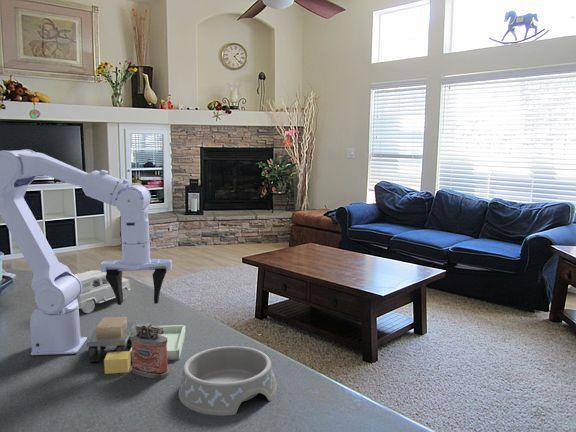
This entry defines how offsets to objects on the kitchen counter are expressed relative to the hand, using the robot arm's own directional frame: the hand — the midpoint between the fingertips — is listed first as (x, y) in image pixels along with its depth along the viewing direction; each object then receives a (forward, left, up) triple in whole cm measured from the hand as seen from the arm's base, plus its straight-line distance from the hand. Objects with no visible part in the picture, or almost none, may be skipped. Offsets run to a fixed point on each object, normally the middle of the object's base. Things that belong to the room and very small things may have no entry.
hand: (138, 302), depth 109 cm
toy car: (-18, +30, -11) cm, 37 cm away
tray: (+4, 0, -10) cm, 11 cm away
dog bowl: (+19, -20, -11) cm, 30 cm away
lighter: (+4, -12, -11) cm, 17 cm away
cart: (-6, -2, -10) cm, 12 cm away
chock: (-3, -10, -11) cm, 15 cm away
